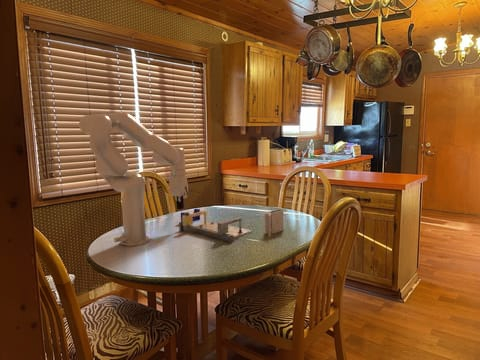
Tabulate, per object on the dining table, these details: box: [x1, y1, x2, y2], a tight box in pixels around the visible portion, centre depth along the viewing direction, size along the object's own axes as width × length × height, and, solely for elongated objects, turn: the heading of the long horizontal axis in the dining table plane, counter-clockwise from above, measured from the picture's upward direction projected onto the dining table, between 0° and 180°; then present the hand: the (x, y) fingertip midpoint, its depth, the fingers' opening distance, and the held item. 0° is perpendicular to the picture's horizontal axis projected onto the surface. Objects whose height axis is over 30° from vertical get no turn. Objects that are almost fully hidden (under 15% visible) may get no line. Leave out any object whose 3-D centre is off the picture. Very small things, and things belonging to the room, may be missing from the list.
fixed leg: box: [216, 217, 243, 235], centre depth 167 cm, size 15×2×7 cm, turn 139°
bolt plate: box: [195, 221, 253, 239], centre depth 180 cm, size 12×28×1 cm, turn 49°
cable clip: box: [180, 208, 201, 222], centre depth 199 cm, size 12×4×6 cm, turn 144°
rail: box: [178, 221, 234, 244], centre depth 171 cm, size 4×33×4 cm, turn 49°
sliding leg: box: [182, 210, 208, 226], centre depth 182 cm, size 15×2×8 cm, turn 139°
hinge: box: [264, 209, 284, 237], centre depth 174 cm, size 14×5×10 cm, turn 143°
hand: (180, 208), depth 182 cm, fingers closed
